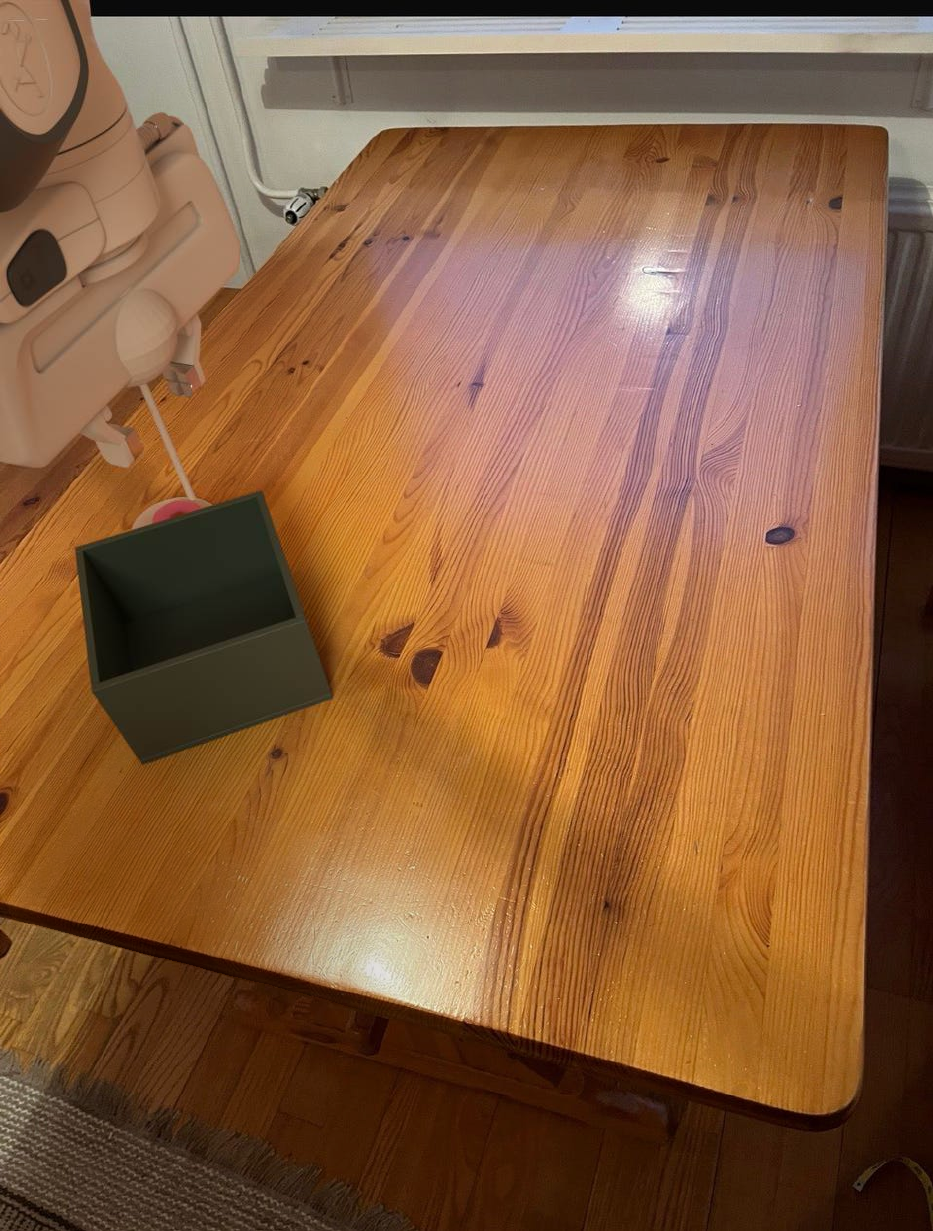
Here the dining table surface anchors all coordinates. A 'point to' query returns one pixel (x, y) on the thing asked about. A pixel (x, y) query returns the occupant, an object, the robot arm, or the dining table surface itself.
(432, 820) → the dining table surface
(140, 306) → the lollipop
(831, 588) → the dining table surface
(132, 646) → the bin
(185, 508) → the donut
